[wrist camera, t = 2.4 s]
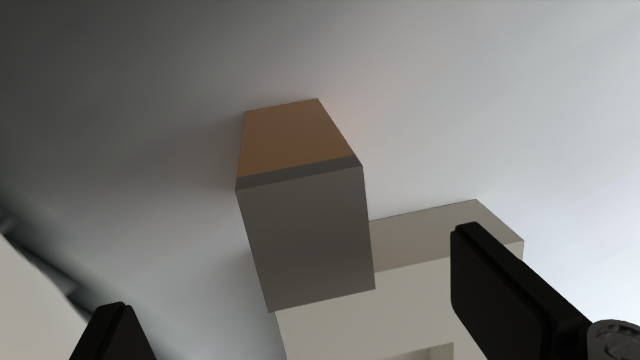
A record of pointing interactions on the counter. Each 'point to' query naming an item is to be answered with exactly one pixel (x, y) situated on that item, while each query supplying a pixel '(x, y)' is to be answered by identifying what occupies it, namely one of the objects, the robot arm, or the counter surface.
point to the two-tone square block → (303, 206)
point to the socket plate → (397, 295)
